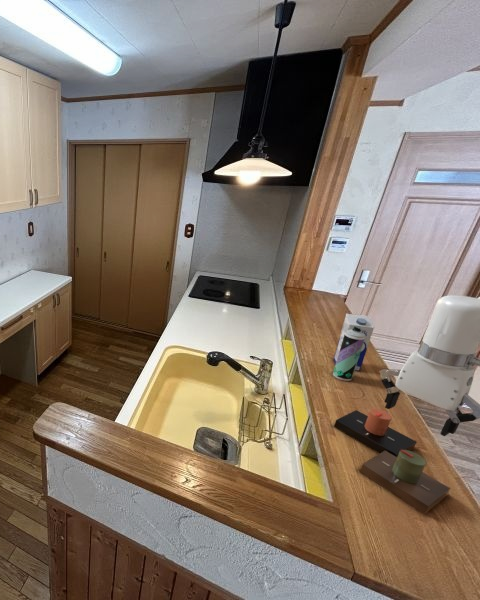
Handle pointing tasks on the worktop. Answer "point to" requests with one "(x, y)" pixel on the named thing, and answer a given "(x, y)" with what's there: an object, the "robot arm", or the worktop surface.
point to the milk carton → (366, 328)
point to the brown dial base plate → (405, 483)
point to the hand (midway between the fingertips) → (416, 419)
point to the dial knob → (377, 422)
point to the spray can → (349, 354)
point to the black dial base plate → (373, 435)
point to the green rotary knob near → (408, 466)
